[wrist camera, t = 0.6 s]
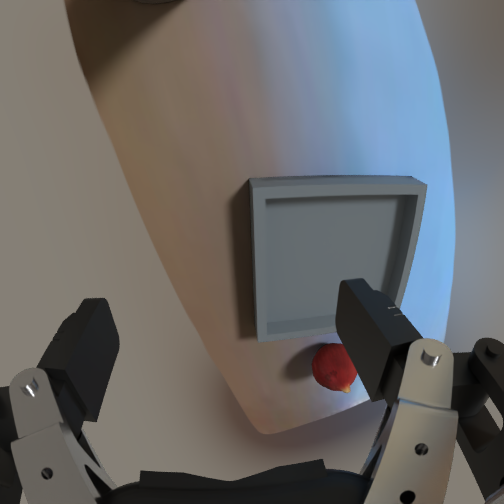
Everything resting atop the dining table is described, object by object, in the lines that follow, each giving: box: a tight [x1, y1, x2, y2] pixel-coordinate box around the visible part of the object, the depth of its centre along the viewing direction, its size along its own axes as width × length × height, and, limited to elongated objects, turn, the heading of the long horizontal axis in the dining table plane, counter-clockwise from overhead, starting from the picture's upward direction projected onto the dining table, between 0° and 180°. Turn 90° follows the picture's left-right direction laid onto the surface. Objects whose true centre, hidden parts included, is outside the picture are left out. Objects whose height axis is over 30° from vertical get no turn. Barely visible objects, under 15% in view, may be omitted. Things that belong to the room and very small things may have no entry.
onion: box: [312, 343, 357, 393], centre depth 35 cm, size 6×6×8 cm
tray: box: [249, 175, 427, 342], centre depth 30 cm, size 17×17×3 cm
